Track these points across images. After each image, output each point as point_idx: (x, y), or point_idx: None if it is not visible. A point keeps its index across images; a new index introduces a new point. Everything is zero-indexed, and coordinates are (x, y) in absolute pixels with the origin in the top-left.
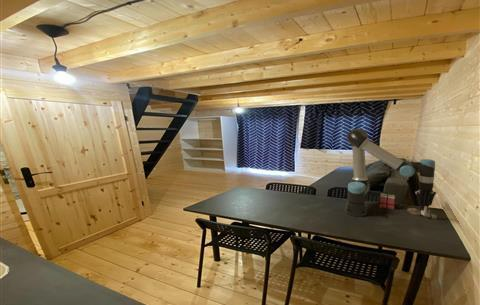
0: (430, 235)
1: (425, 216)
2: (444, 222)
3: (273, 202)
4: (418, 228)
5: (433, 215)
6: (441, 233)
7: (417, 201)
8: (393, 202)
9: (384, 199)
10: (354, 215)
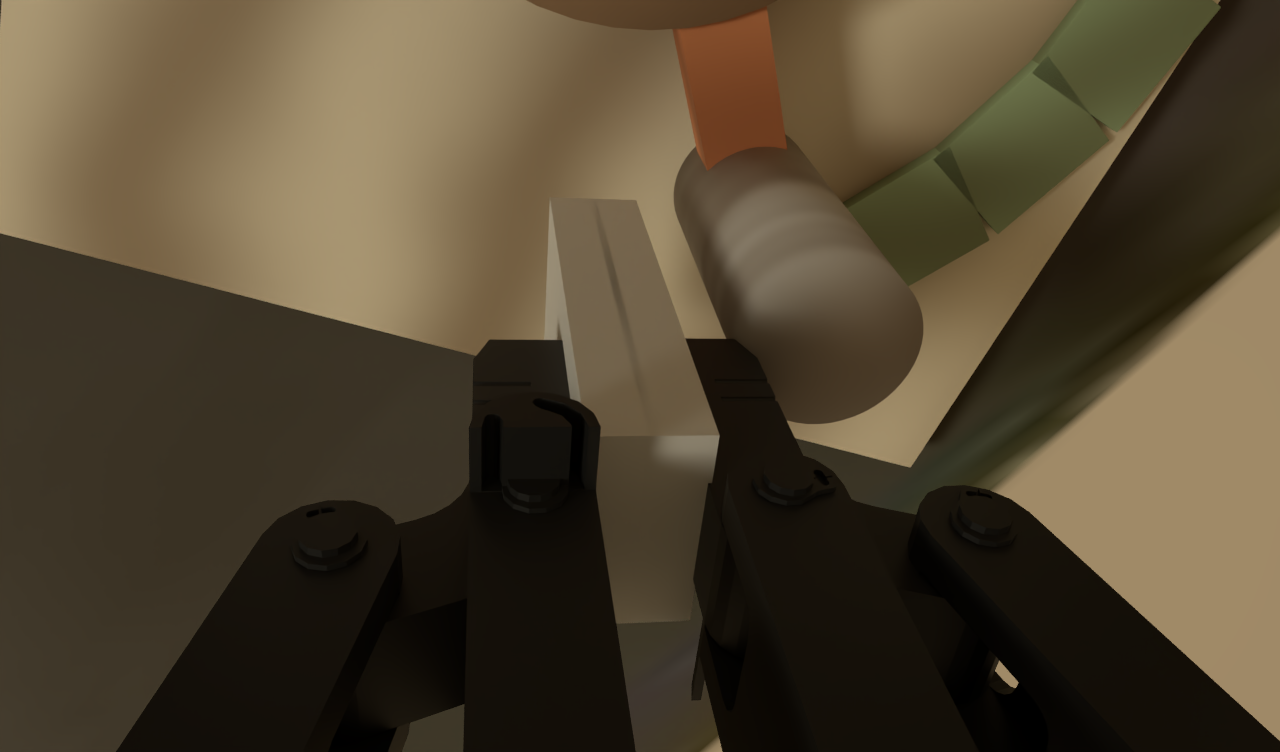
0: None
1: (676, 212)
2: (1019, 336)
3: None
4: (90, 590)
5: (1122, 29)
6: (457, 731)
7: (168, 708)
8: None
9: None
10: None
